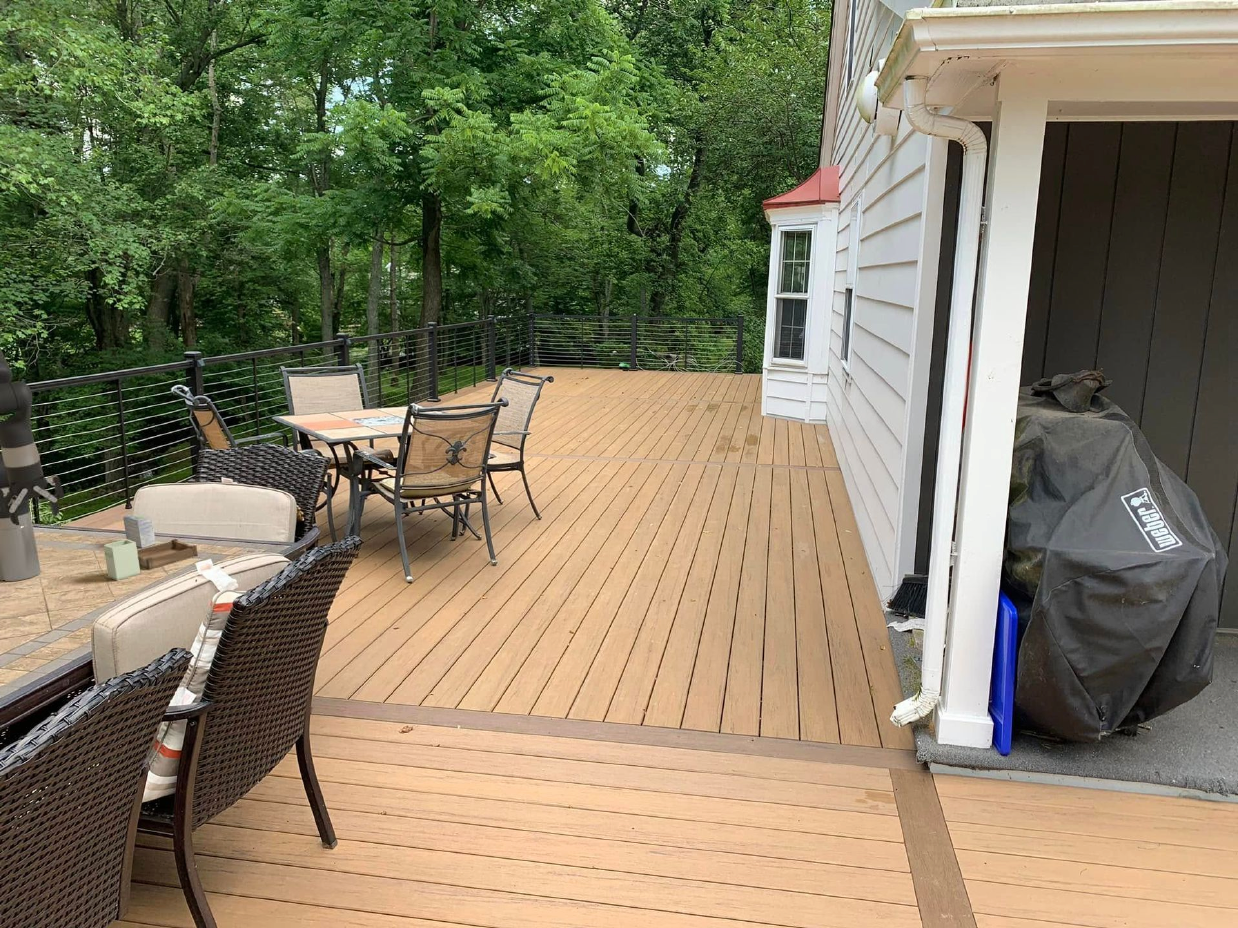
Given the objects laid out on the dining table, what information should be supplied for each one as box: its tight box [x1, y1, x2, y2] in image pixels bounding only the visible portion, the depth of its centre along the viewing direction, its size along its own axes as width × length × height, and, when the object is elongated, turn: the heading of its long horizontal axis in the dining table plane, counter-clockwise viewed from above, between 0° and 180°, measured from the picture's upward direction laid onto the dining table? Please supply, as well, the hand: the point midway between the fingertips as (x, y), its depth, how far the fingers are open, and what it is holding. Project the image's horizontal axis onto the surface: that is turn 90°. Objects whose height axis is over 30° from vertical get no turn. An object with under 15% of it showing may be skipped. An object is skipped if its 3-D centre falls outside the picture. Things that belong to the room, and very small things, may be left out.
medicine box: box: [123, 513, 157, 549], centre depth 264 cm, size 8×4×9 cm, turn 58°
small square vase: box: [103, 538, 141, 582], centre depth 238 cm, size 5×6×9 cm
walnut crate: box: [137, 538, 199, 570], centre depth 251 cm, size 12×14×3 cm
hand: (36, 519), depth 231 cm, fingers open, 8 cm apart
